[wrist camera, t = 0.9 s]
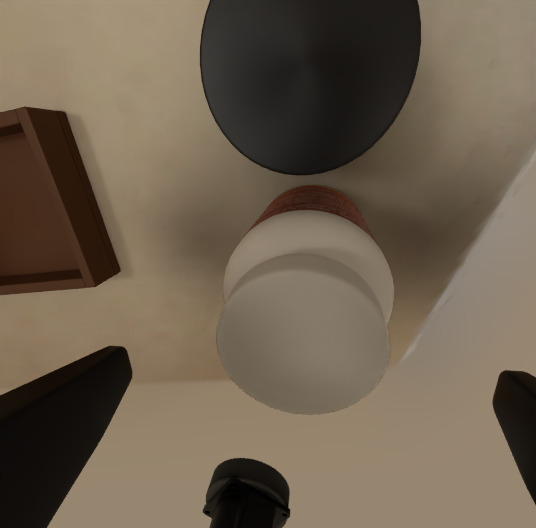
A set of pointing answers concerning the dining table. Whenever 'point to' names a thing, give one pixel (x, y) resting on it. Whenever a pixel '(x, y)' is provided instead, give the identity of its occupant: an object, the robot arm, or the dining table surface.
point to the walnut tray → (47, 208)
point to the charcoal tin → (308, 76)
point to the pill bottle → (307, 305)
